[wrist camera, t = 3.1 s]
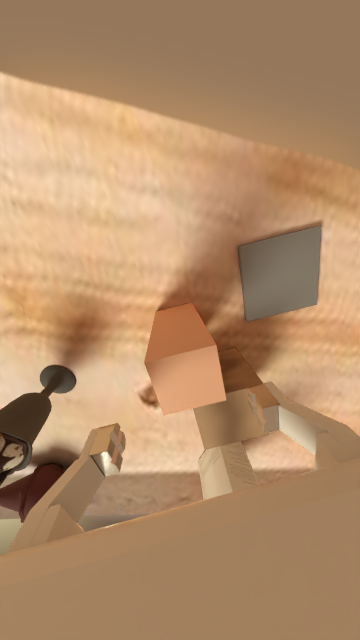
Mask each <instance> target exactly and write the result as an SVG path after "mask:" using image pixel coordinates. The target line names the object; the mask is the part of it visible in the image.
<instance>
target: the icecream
mask: <svg viewBox="0 0 360 640" xmlns="http://www.w3.org/2000/svg"><path fill="white" fill-rule="evenodd" d="M64 473H65V472H64V471H63V470H62V469H61V467H59V466H57V465H50V464H48V465H38V466H37V468H36V469H35V470H34V472H33V473H32V474H30V475H28V476H26V477H24V478H22V479H20V480H18V481H16V482H13V483H11V484H9V485H7V486H5V487H3V488H1V489H0V506H2V507H5V508H8V509H11V510H14V511H17V512H19V516H20V518H21V523H23V522H24V521H25V519H26V517H27V515H28V513H29V511H30V510H31V509H32V508H33V507H34V506H35V505H36V503H37V502H38V501H39V500H40V499H41V498H42V497H43V496H44V495H45V494H46V492H47V491H48V490H49V489H50V488H51V487H52V486H53V485H54V484H55V482H56V481H57V480H58V479H59V478H60V477H61V476H62V475H63V474H64Z"/></svg>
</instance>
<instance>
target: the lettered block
mask: <svg viewBox="0 0 360 640" xmlns="http://www.w3.org/2000/svg"><path fill="white" fill-rule="evenodd" d="M218 356H219V362H220V367H221V373H222V378H223V384H224V389H225V395H226V400H225V401H221V402H217V403H213V404H209V405H205V406H201V407H196V408H193V409H194V413H195V417H196V420H197V424H198V427H199V431H200V434H201V438H202V442H203V445H204V449H205V450H206V449H210V448H215V447H219V446H223V445H227V444H231V443H235V442H240V441H244V440H248V439H252V438H256V437H260V436H264V435H268V432H266V433H264V431H263V430H262V428H261V426H260V425H259V423H258V418H257V417H256V416H255V415H254V414H253V413H252V411H251V409H250V406H249V403H248V397H249V396H248V394H247V390H246V389H247V388H249V387H252V386H256V385H259V384H263V382H262V381H261V380H260V378H259V377H258V376H257V375H256V373H255V372H254V371H253V369H252V368H251V367H250V366H249V364H248V363H247V362H246V361H245V359H244V358H243V357H242V355H241V354H240V353H239V352H238V350H237V349H236V348H231V349H227V350H223V351H219V352H218Z"/></svg>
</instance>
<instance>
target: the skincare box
mask: <svg viewBox="0 0 360 640" xmlns="http://www.w3.org/2000/svg"><path fill="white" fill-rule="evenodd" d="M198 464H199V471H200V478H201V485H202V491H203V498H204V500H205V499H209V498H213V497H216V496H220V495H224V494H227V493H231V492H235V491H239V490H242V489H246V488H250V487H253V486H257V485H259V483H258V481H257V478H256V476H255V474H254V471H253V469H252V466H251V464H250V462H249V459H248V457H247V454H246V452H245V449H244V447H243V445H242V442H241V441H240V442H235V443H231V444H227V445H223V446H219V447H215V448H210V449H206V451H205V452H204V453H203V455H202V456H201V458H200V459H199V461H198Z"/></svg>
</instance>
